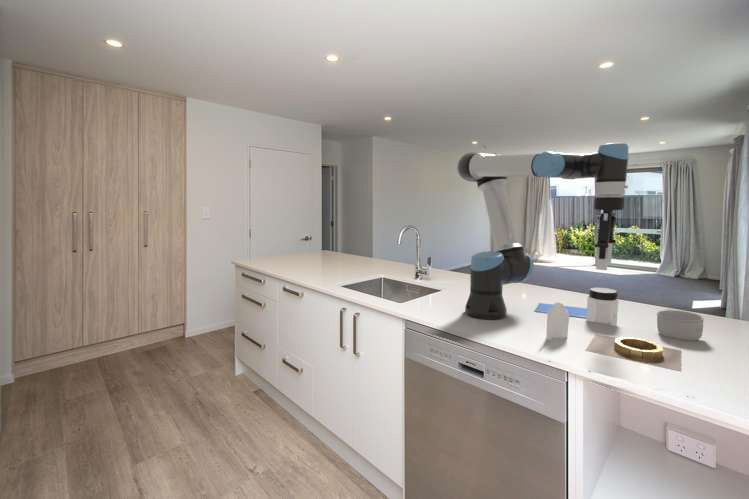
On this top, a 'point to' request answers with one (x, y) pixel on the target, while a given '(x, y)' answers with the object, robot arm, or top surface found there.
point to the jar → (602, 306)
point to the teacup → (680, 324)
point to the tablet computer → (571, 310)
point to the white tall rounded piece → (557, 322)
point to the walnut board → (606, 347)
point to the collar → (652, 353)
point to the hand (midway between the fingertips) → (603, 266)
